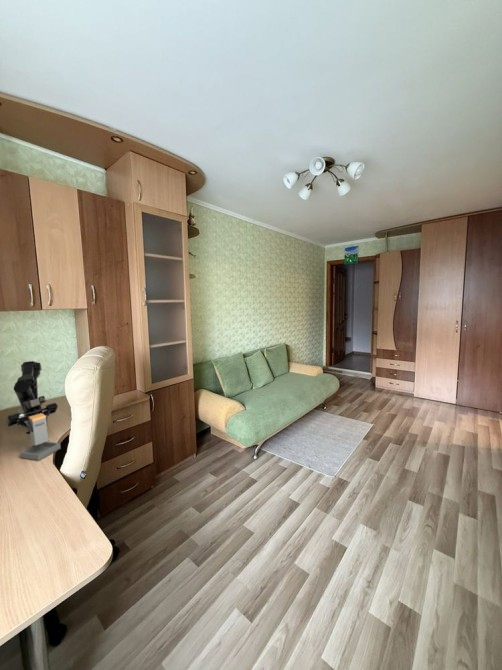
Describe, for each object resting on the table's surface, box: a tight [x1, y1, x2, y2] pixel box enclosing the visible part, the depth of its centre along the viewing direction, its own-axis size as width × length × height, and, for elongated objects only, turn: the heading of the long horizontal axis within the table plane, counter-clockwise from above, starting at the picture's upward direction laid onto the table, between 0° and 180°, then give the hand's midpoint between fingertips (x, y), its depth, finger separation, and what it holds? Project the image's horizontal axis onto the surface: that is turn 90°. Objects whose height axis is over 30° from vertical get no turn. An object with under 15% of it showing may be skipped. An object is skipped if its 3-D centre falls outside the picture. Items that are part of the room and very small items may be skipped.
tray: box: [19, 441, 62, 462], centre depth 126 cm, size 11×11×3 cm
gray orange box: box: [28, 413, 49, 446], centre depth 125 cm, size 6×5×12 cm
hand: (39, 429), depth 124 cm, fingers closed on gray orange box, 5 cm apart
